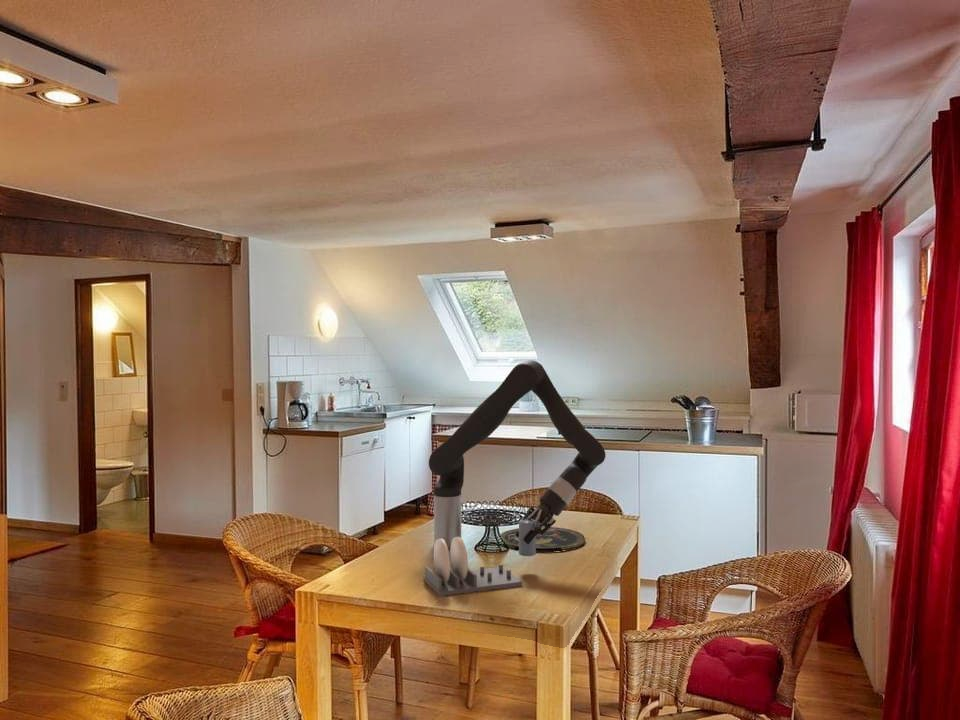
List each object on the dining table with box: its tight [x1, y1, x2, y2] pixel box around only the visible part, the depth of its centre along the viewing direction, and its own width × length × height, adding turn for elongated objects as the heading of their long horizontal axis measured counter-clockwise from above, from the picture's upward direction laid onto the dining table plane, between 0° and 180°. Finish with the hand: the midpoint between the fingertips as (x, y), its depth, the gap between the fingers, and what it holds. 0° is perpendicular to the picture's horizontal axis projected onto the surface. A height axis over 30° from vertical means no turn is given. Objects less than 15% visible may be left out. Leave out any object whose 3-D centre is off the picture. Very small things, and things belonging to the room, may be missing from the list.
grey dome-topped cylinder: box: [518, 519, 537, 557], centre depth 212 cm, size 5×5×10 cm
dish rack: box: [423, 537, 523, 597], centre depth 202 cm, size 15×24×13 cm, turn 111°
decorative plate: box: [499, 526, 586, 553], centre depth 247 cm, size 30×2×30 cm
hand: (521, 539), depth 212 cm, fingers closed on grey dome-topped cylinder, 5 cm apart
